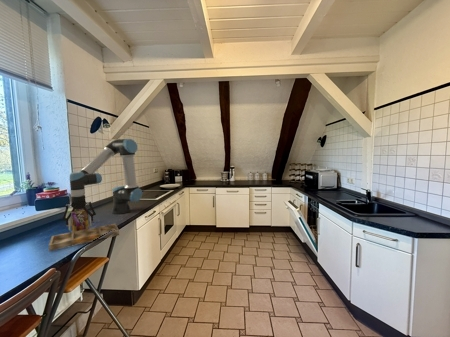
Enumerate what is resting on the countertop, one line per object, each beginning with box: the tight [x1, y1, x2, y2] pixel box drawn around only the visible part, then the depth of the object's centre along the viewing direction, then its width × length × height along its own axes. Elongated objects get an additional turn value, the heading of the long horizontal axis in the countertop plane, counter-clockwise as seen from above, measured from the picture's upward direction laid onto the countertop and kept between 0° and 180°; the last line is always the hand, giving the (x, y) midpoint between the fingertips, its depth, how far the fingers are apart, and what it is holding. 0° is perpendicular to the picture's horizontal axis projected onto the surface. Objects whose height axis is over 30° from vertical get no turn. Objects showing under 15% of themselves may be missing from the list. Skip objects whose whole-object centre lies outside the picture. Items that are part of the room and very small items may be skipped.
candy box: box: [70, 209, 90, 232], centre depth 133 cm, size 9×4×15 cm, turn 140°
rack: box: [48, 223, 120, 252], centre depth 123 cm, size 34×15×4 cm, turn 126°
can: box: [65, 207, 73, 227], centre depth 148 cm, size 9×9×12 cm
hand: (80, 227), depth 133 cm, fingers open, 11 cm apart
